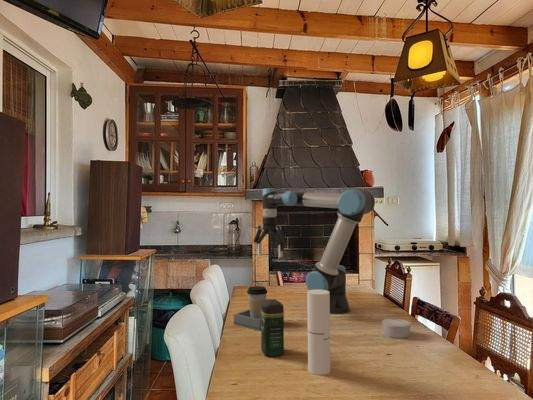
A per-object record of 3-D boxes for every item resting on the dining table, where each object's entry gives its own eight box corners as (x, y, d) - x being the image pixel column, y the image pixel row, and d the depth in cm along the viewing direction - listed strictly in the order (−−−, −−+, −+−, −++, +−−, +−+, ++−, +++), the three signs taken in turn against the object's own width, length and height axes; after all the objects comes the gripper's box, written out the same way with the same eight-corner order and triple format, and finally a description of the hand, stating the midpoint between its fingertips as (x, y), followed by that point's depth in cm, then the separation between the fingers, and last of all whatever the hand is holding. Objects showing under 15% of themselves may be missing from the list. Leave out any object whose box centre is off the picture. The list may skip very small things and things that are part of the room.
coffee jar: (286, 356, 129) (286, 303, 129) (264, 358, 127) (264, 304, 128) (280, 346, 138) (279, 297, 139) (259, 348, 137) (259, 298, 137)
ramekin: (410, 332, 153) (410, 319, 154) (412, 341, 143) (411, 327, 143) (382, 329, 157) (382, 317, 157) (382, 338, 146) (381, 324, 147)
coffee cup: (265, 324, 161) (265, 290, 162) (244, 323, 163) (244, 289, 163) (269, 318, 170) (269, 286, 171) (249, 317, 172) (249, 285, 173)
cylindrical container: (306, 365, 121) (305, 289, 121) (327, 364, 121) (326, 289, 122) (310, 375, 114) (309, 294, 114) (333, 374, 114) (332, 294, 115)
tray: (280, 322, 168) (280, 312, 168) (259, 330, 156) (259, 320, 156) (254, 316, 177) (254, 307, 177) (233, 324, 165) (233, 314, 166)
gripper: (247, 216, 201) (247, 255, 201) (285, 217, 187) (286, 258, 187) (255, 216, 208) (255, 254, 207) (293, 216, 193) (293, 257, 193)
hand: (270, 256), depth 197 cm, fingers open, 13 cm apart
